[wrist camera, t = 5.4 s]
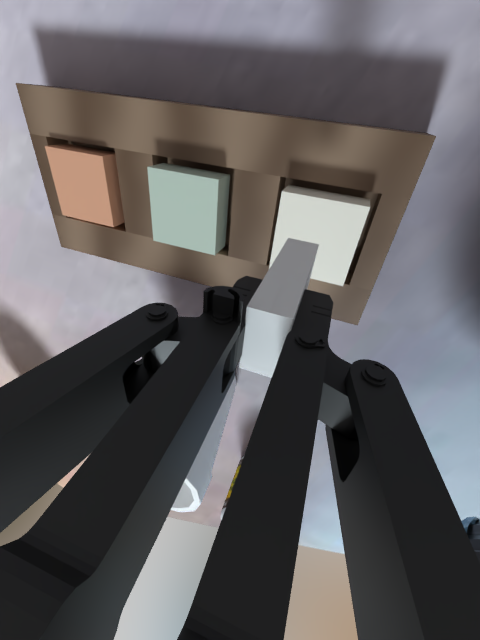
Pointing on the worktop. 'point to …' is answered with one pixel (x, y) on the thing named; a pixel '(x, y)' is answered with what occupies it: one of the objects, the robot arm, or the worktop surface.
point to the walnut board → (245, 180)
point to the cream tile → (322, 228)
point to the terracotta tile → (86, 183)
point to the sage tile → (189, 207)
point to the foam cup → (204, 461)
